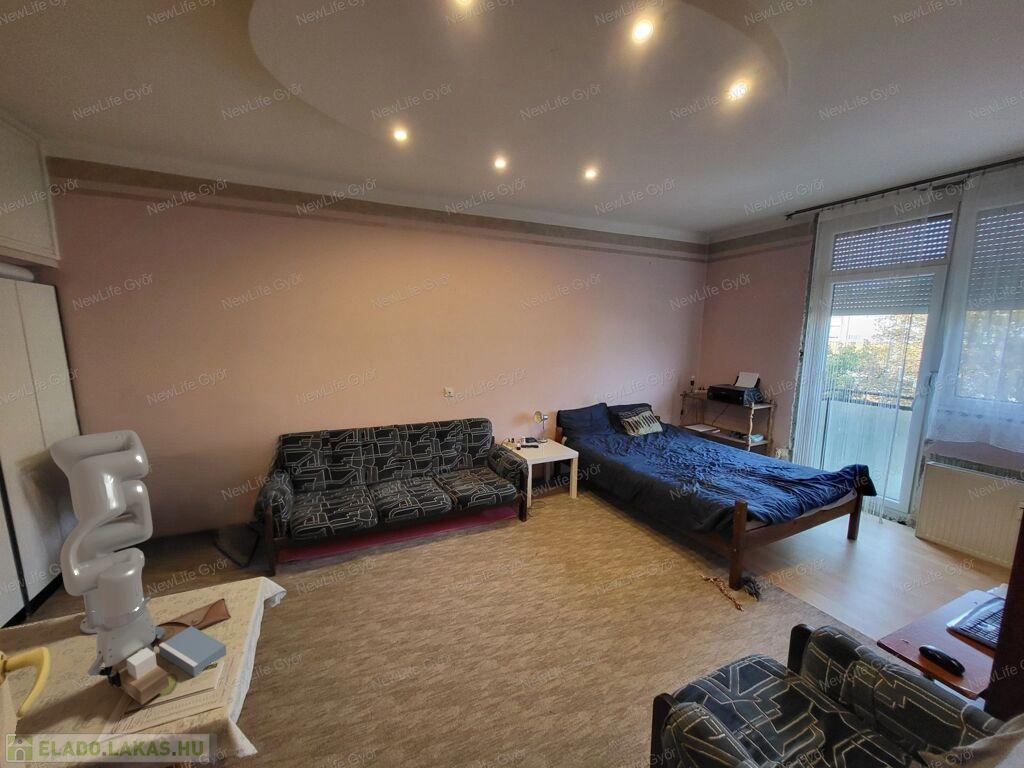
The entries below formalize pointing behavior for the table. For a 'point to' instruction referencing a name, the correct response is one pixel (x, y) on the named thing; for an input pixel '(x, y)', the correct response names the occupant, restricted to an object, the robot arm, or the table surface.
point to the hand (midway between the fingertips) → (131, 674)
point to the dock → (192, 650)
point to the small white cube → (141, 663)
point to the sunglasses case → (195, 620)
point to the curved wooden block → (142, 682)
